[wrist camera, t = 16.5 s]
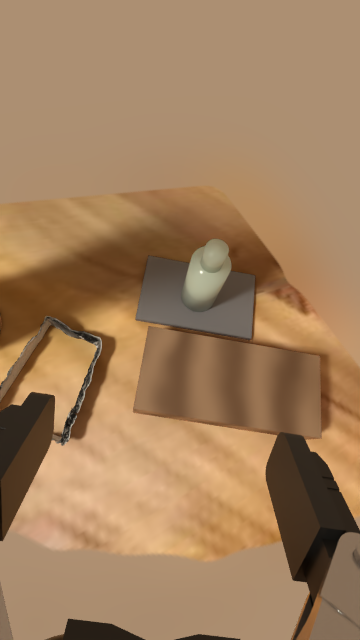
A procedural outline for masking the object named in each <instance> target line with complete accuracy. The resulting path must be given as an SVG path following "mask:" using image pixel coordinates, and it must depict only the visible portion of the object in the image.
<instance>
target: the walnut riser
mask: <svg viewBox="0 0 360 640" xmlns="http://www.w3.org/2000/svg"><path fill="white" fill-rule="evenodd" d="M133 413H140V414H146V415H153V416H159V417H165V418H172V419H178V420H184V421H191V422H197V423H203V424H210V425H216V426H222V427H229V428H235V429H242V430H248V431H254V432H261V433H267V434H273V435H278V434H279V433H280V432H285V433H291V434H297V435H302V436H303V437H304V439H305V440H306V439H320V438H322V435H321V380H320V356H318V355H312V354H307V353H301V352H295V351H289V350H284V349H278V348H272V347H266V346H260V345H255V344H249V343H243V342H237V341H232V340H226V339H220V338H214V337H209V336H203V335H197V334H191V333H186V332H180V331H174V330H168V329H162V328H157V327H151V326H149V327H148V332H147V338H146V343H145V348H144V354H143V359H142V365H141V370H140V375H139V381H138V386H137V391H136V397H135V402H134V407H133Z"/></svg>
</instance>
